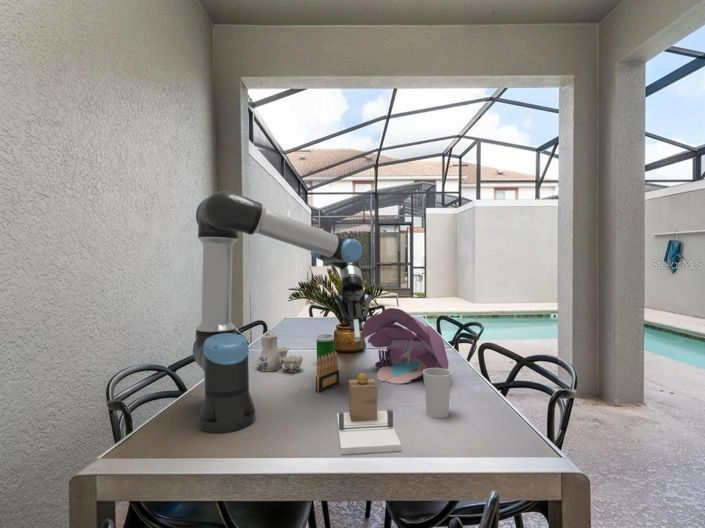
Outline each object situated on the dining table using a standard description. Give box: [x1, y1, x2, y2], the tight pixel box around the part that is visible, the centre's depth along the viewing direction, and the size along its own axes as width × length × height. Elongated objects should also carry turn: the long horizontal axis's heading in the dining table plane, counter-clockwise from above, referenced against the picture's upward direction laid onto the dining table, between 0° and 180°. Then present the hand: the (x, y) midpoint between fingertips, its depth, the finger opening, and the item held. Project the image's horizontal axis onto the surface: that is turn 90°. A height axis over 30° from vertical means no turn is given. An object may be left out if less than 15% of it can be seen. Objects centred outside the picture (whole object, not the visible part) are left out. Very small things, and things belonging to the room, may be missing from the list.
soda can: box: [316, 333, 335, 361], centre depth 165 cm, size 8×8×12 cm
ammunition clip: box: [315, 350, 340, 393], centre depth 135 cm, size 11×2×12 cm, turn 143°
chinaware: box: [256, 328, 304, 373], centre depth 161 cm, size 28×17×17 cm, turn 34°
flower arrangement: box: [360, 307, 449, 385], centre depth 147 cm, size 35×24×28 cm
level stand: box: [336, 409, 402, 455], centre depth 100 cm, size 20×14×6 cm
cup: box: [422, 368, 452, 419], centre depth 112 cm, size 8×8×12 cm
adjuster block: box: [348, 372, 378, 421], centre depth 107 cm, size 6×7×12 cm
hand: (357, 339), depth 121 cm, fingers closed
